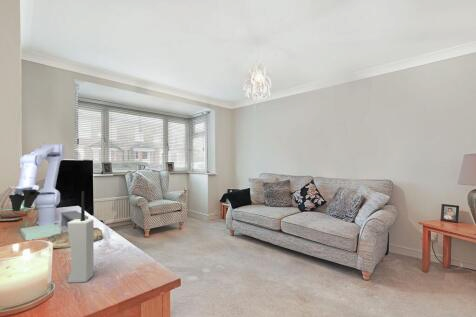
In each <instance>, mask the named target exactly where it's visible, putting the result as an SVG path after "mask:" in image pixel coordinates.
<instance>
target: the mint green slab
mask: <svg viewBox="0 0 476 317" xmlns="http://www.w3.org/2000/svg"><path fill="white" fill-rule="evenodd" d="M59 233H62V228H61V227H60V226H58V225H57V224H56V223H51V224H45V225H35V226H29V227H23V228H20V236H21V237H22V236H23V237H22V238H23V239H24V241H25V240H29V241H33V240H32V239H34V240H39V239H42V238H48V237H50V236H52V235H55V234H59Z"/></svg>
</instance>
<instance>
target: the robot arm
mask: <svg viewBox="0 0 476 317" xmlns="http://www.w3.org/2000/svg"><path fill="white" fill-rule="evenodd" d="M65 156H66V146H65V144H64V143H42V144H41V146H40V148H35V149H34V150H33V151H32V152H30V153H29V154H24V155H21V157H20V159H19V162H20V166H19V167H20V168H19V169H20V174H19V177H18V183H17V186H14V187H13V191H12V193H11V194H10V195H8V198H9V199H10V202H11V210H12V211H13V212H20V210H21V209H22V205H23V208H25V209H31V208H32V206H33V204H34V206H35V207H36V209H37V208H38V211H37V214H38V215H37V220H38V221H36V222H35V223H36V225H37V226H39V225H45V224H51V223H54V224H59V221H58V220H57V206H59V204H60V202H61V193H60V191H59V190H57V189H56V185H57V179H58V175H59V171H60V169H59V168H60V165H61V161H63V160H64V159H65ZM44 160H45V161H48V166H47V170H46V175H45V181H44V183H43V188H41V189H39V188H40V185H36V182H37V176H38V171H39V167H41V166H42V165H43V163H44Z"/></svg>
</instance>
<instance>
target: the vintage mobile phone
mask: <svg viewBox="0 0 476 317" xmlns="http://www.w3.org/2000/svg"><path fill="white" fill-rule="evenodd" d="M85 210H86V209H85V191H81V209H80V213H81V219H75V220H73V221H70V222H68V225H67V231H68V234H69V241H70V243H71V247H70V249H71V250H70V255H71V256H70V259H71V260H70V262H71V263H70V265H71V266H70V274H69V275H68V277H67V283H69V284H74V283H87V282H88V281H90V279H91V278H92V277H93V276H94V273H95V272H94V241H93V228H94V219H93V218H88V219H85V215H86V213H85V212H86V211H85Z"/></svg>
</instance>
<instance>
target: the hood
mask: <svg viewBox="0 0 476 317" xmlns="http://www.w3.org/2000/svg"><path fill="white" fill-rule="evenodd" d="M60 219H61V226H66V225H67V226H68V222H70V221H73V220H75V219H81V212H79V211H77V210H69V211H63V212H61V218H60ZM85 219H89V216H87V215H86V214H85Z"/></svg>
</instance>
